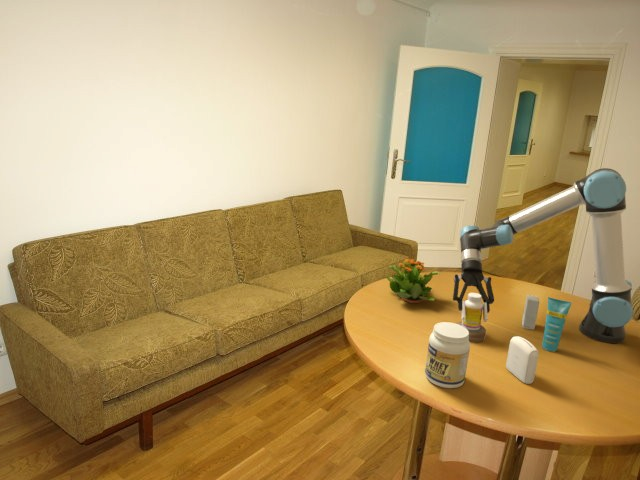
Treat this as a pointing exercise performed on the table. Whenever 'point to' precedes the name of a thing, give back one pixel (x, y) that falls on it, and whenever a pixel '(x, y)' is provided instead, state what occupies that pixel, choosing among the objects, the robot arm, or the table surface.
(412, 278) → the potted flower
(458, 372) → the supplement tub
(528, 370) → the photo printer
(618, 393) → the table surface
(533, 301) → the skincare box
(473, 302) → the supplement bottle
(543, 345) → the tube
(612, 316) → the robot arm
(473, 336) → the walnut plinth
